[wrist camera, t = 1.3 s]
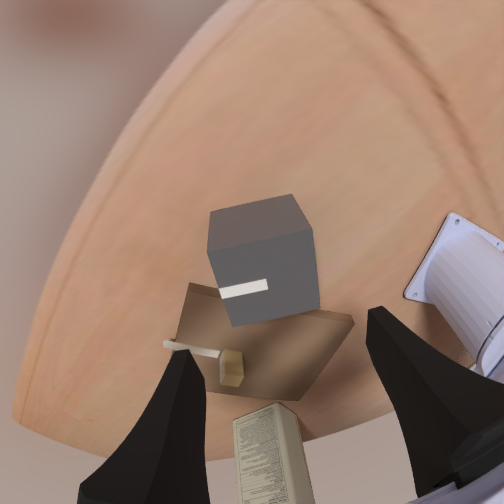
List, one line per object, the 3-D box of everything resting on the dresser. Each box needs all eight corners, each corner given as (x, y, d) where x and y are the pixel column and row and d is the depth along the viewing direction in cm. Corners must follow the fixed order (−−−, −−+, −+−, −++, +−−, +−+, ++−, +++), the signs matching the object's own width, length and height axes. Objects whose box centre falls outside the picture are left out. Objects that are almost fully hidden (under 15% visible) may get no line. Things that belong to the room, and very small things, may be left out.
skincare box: (253, 431, 33) (263, 521, 22) (230, 419, 31) (236, 518, 20) (298, 413, 31) (318, 509, 21) (278, 399, 29) (296, 506, 19)
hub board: (351, 315, 24) (365, 345, 21) (296, 393, 29) (303, 421, 26) (176, 279, 21) (170, 313, 18) (157, 373, 26) (153, 404, 23)
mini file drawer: (291, 193, 18) (312, 229, 14) (302, 262, 21) (320, 309, 17) (210, 211, 18) (206, 253, 14) (230, 278, 21) (232, 328, 17)
